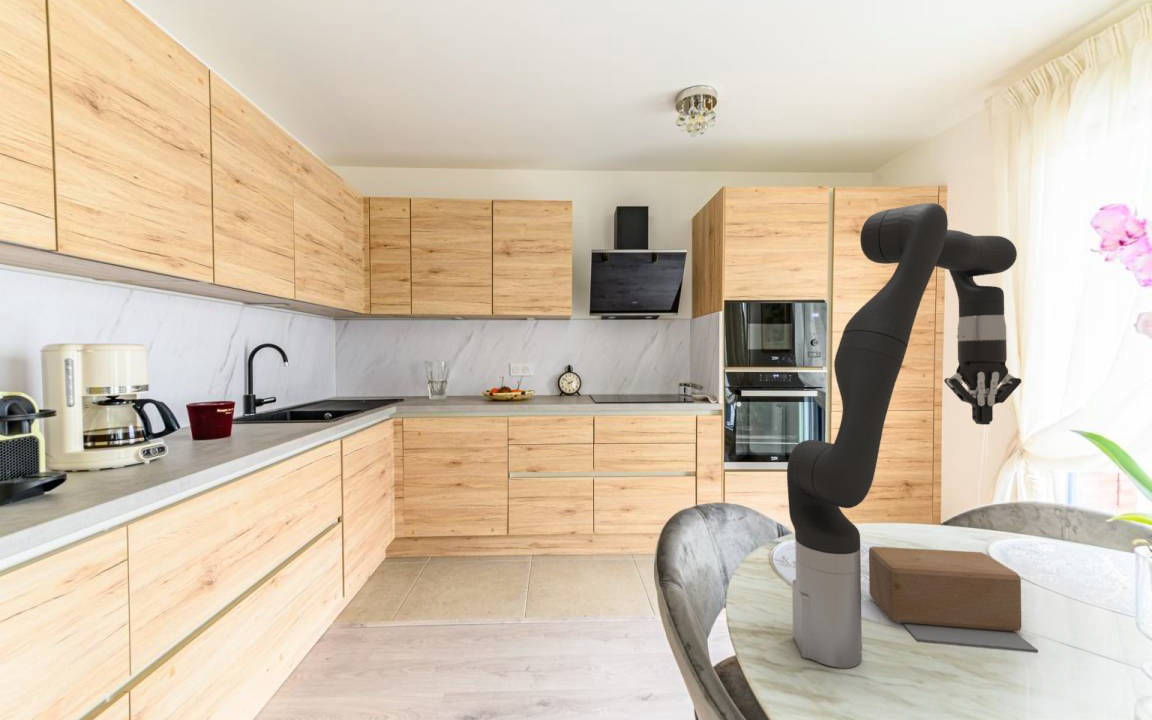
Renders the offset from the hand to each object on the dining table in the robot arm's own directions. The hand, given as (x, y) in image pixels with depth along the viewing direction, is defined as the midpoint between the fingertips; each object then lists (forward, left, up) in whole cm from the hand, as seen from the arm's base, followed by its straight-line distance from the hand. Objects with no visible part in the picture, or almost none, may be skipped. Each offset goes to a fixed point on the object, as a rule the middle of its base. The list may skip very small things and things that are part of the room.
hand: (982, 423), depth 95 cm
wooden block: (-5, -14, -28) cm, 31 cm away
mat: (-15, -14, -33) cm, 39 cm away
